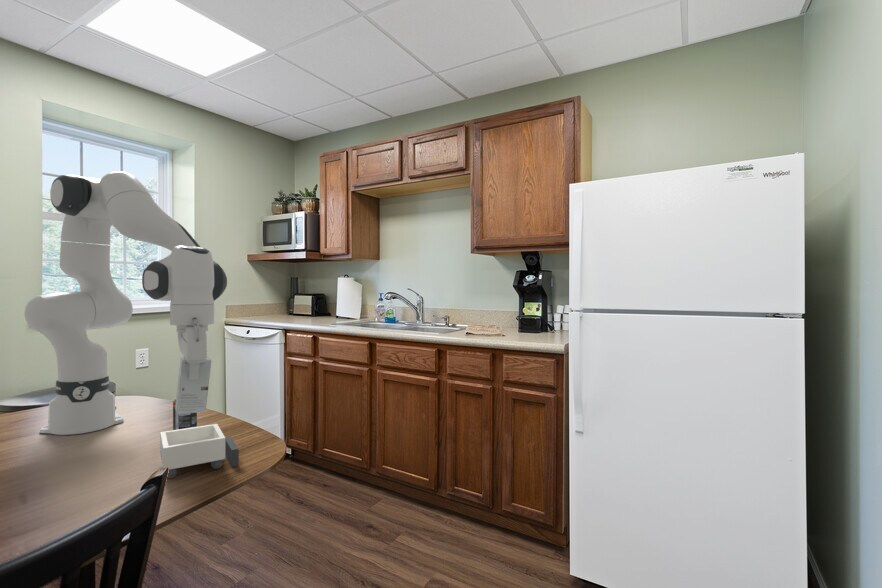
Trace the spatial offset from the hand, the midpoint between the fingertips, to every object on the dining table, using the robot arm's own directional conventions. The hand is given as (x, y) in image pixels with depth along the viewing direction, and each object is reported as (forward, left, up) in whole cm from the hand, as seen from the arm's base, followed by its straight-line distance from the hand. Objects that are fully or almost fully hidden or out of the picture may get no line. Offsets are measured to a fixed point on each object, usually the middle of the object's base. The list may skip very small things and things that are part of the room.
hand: (192, 376), depth 103 cm
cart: (0, 0, -21) cm, 21 cm away
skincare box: (0, 0, -8) cm, 8 cm away
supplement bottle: (-29, +1, -21) cm, 36 cm away
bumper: (0, +8, -21) cm, 22 cm away
